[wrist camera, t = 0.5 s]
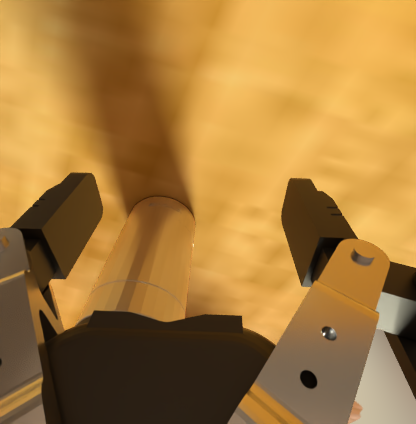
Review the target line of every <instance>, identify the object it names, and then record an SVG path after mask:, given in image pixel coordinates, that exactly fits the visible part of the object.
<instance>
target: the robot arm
mask: <svg viewBox="0 0 416 424" xmlns="http://www.w3.org/2000/svg"><path fill="white" fill-rule="evenodd" d="M102 214H103V206H102V202H101V198H100V194H99V191H98V187H97V184H96V180H95V177H94V175H93V174H92V173H70V174H69V175H68V176H67V177H66V178H65V179H64V180H63V181H62V182H61V183H60V184H58V185H56V186H54V187H53V188H51V189H49V190H47V191H46V192H45V193H44V194H43V195H42V196H41V197H40V198H39V200H37V201H36V202H35V203H34V204H33V205H32V207H30V208H29V209H28V210H27V211H26V212H25V213H24V214H23V215H22V216H21V217H20V218H19V219H18V220H17V221H16V222H15V223H14V224H13V225H12V226H11V227H10V228H1V229H0V424H347V423H348V420H349V417H350V413H351V410H352V407H353V403H354V400H355V397H356V394H357V390H358V387H359V384H360V380H361V377H362V374H363V370H364V367H365V364H366V360H367V357H368V354H369V350H370V347H371V344H372V340H373V337H374V333H375V330H376V328H377V329H380V330H383V331H384V332H385V335H386V337H387V339H388V341H389V343H390V346H391V348H392V350H393V352H394V354H395V356H396V358H397V361H398V363H399V365H400V367H401V369H402V371H403V373H404V375H405V378H406V380H407V382H408V384H409V386H410V388H411V390H412V393H413V395H414V397H415V399H416V268H414V267H410V266H406V265H402V264H398V263H394V262H390V261H389V258H388V256H387V255H386V254H385V253H384V252H383V251H382V250H381V249H380V248H378V247H377V246H375V245H374V244H371V243H369V242H367V241H364V240H360V239H358V238H357V236H356V235H355V233H354V232H353V230H352V229H351V227H350V225H349V224H348V222H347V221H346V219H345V218H344V216H342V213H341V211H340V210H339V209H338V207H337V205H336V203H335V202H334V200H333V199H332V198H331V197H330V196H328V195H327V194H326V193H324V192H323V191H317V189H316V188H315V186H314V184H313V182H312V181H311V179H300V178H291V179H290V180H289V182H288V186H287V190H286V195H285V199H284V203H283V208H282V215H281V218H282V225H283V228H284V231H285V235H286V238H287V241H288V244H289V247H290V251H291V254H292V257H293V260H294V263H295V267H296V270H297V273H298V276H299V279H300V283H301V286H302V287H311V288H310V290H309V291H308V293H307V295H306V296H305V298H304V300H303V301H302V303H301V305H300V306H299V308H298V310H297V311H296V313H295V315H294V316H293V318H292V320H291V321H290V323H289V325H288V327H287V328H286V330H285V332H284V333H283V335H282V337H281V338H280V340H279V342H278V343H277V345H275V344H274V343H272V342H271V341H269V340H268V339H267V338H265V337H263V336H262V335H260V334H258V333H256V332H254V331H251V330H249V329H246V328H243V326H242V316H234V315H207V314H205V315H200V316H195V317H190V318H185V312H186V303H187V295H188V286H189V277H190V268H191V259H192V251H193V243H194V234H195V221H194V218H193V216H192V213H191V212H190V211H189V210H188V208H187V207H185V206H184V205H183V204H182V203H180V202H178V201H176V200H174V199H171V198H168V197H150V198H146V199H144V200H142V201H140V202H139V203H138V204H136V205H135V207H134V208H133V209H132V211H131V213H130V215H129V217H128V219H127V221H126V223H125V225H124V227H123V229H122V231H121V233H120V235H119V237H118V239H117V241H116V243H115V245H114V247H113V249H112V251H111V253H110V255H109V257H108V259H107V261H106V264H105V266H104V268H103V270H102V272H101V274H100V276H99V278H98V280H97V282H96V284H95V286H94V288H93V290H92V292H91V294H90V296H89V299H88V300H87V303H86V305H85V307H84V309H83V311H82V313H81V315H80V317H79V319H78V321H77V323H76V325H75V327H73V328H70V329H68V330H66V331H64V328H63V325H62V321H61V318H60V314H59V310H58V307H57V303H56V300H55V296H54V292H53V289H52V287H51V285H50V283H49V282H50V280H51V279H66V278H67V276H68V274H69V273H70V271H71V269H72V268H73V266H74V264H75V262H76V261H77V259H78V257H79V256H80V254H81V252H82V250H83V249H84V247H85V245H86V244H87V242H88V240H89V239H90V237H91V235H92V233H93V232H94V230H95V228H96V227H97V225H98V223H99V221H100V220H101V218H102Z"/></svg>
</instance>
